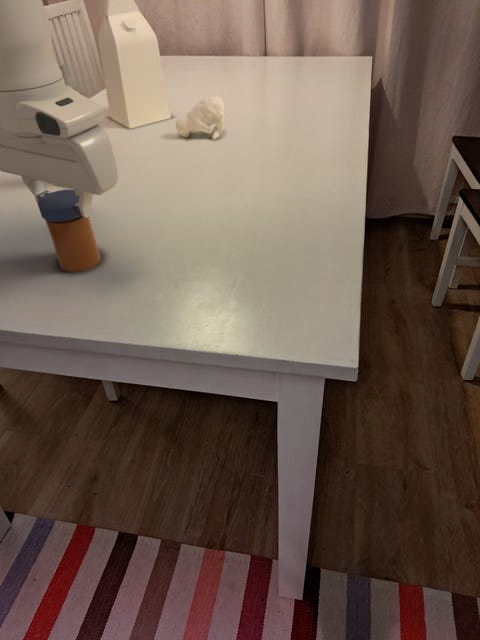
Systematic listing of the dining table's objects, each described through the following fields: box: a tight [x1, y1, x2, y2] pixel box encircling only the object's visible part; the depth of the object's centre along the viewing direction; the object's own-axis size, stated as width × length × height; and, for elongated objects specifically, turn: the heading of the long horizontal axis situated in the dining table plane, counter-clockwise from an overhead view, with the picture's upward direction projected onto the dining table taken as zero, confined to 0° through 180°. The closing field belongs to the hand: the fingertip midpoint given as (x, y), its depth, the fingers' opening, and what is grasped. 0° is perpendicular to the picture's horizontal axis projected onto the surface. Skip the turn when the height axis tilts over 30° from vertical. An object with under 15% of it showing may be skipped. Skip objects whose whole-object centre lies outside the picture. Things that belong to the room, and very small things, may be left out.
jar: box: [44, 216, 101, 273], centre depth 68 cm, size 6×6×10 cm
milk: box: [97, 0, 172, 129], centre depth 114 cm, size 12×12×26 cm
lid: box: [37, 188, 80, 222], centre depth 65 cm, size 7×6×2 cm
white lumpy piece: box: [175, 95, 226, 140], centre depth 108 cm, size 6×8×12 cm
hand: (65, 209), depth 66 cm, fingers closed on lid, 6 cm apart
